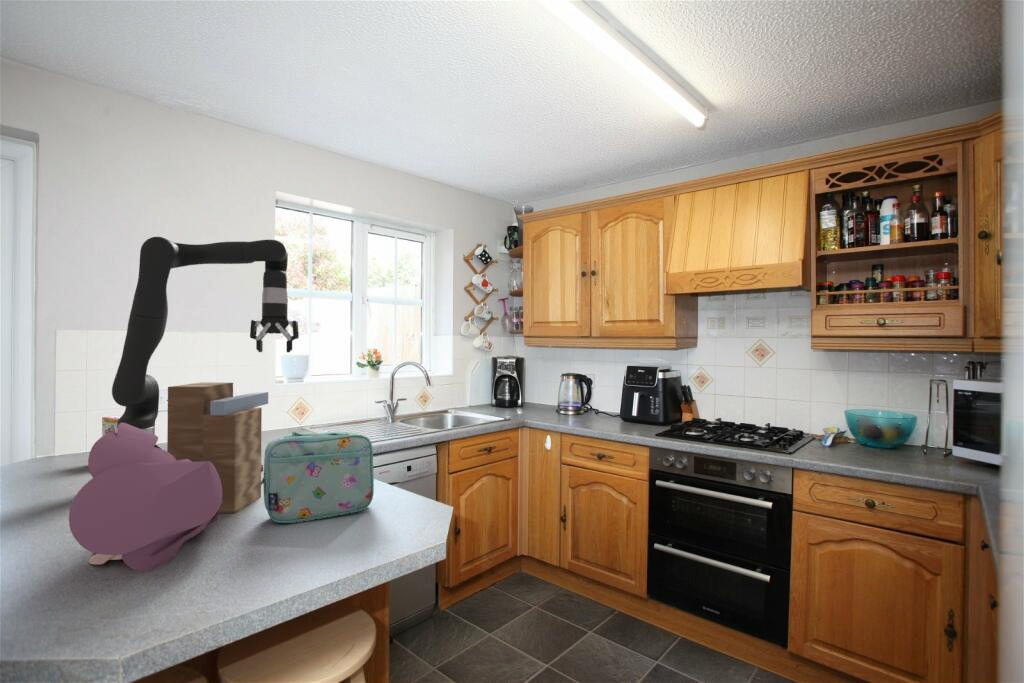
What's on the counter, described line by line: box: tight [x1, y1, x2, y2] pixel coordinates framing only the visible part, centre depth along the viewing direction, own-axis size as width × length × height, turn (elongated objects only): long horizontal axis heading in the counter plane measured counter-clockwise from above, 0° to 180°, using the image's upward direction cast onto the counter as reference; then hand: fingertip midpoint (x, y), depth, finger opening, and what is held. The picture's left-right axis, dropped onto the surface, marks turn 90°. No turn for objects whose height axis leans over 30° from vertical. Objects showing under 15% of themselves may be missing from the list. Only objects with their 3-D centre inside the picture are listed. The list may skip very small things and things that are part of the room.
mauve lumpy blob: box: [68, 423, 222, 572], centre depth 106 cm, size 36×24×29 cm
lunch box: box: [259, 430, 375, 524], centre depth 128 cm, size 27×10×21 cm, turn 117°
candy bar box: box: [101, 415, 122, 437], centre depth 179 cm, size 11×5×16 cm, turn 65°
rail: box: [210, 391, 269, 415], centre depth 140 cm, size 24×4×4 cm, turn 1°
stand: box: [166, 381, 263, 514], centre depth 136 cm, size 14×17×32 cm
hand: (274, 352), depth 165 cm, fingers open, 8 cm apart
